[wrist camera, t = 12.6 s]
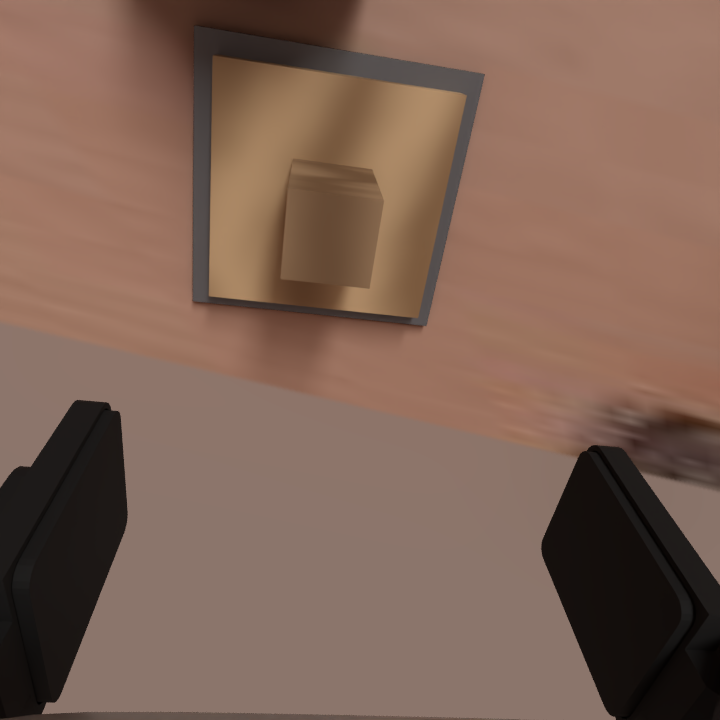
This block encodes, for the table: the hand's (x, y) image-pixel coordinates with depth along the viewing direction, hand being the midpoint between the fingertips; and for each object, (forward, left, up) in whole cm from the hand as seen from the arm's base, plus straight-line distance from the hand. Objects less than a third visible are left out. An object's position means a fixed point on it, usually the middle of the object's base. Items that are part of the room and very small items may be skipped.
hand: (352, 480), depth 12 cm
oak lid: (0, 0, -22) cm, 22 cm away
